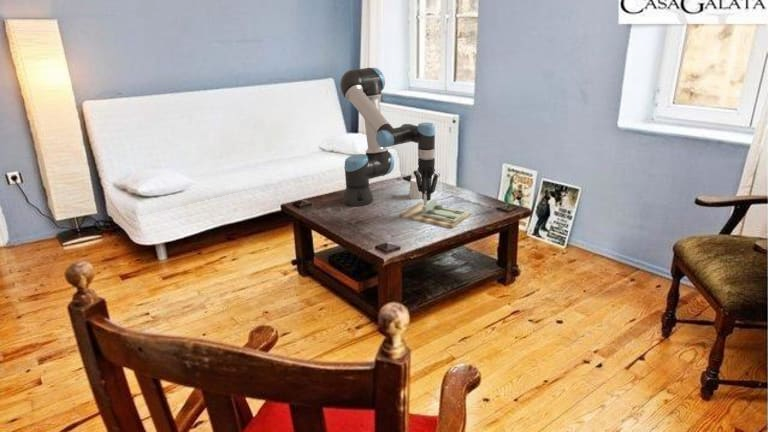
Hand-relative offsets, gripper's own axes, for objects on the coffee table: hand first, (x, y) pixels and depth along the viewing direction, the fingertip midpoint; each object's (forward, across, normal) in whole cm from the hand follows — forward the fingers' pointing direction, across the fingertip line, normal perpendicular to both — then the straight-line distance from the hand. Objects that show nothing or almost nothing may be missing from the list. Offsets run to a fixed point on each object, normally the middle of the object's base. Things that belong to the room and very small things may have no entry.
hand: (426, 206), depth 236 cm
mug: (+4, -15, +20) cm, 26 cm away
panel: (+2, +9, 0) cm, 10 cm away
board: (+4, +5, 0) cm, 6 cm away
